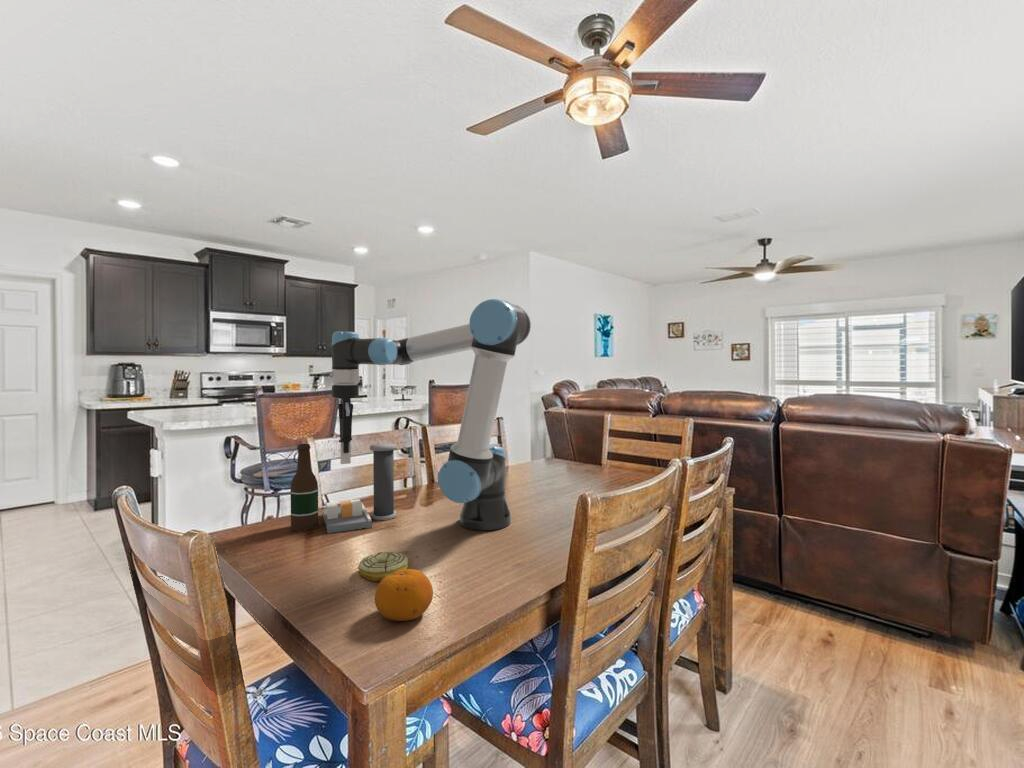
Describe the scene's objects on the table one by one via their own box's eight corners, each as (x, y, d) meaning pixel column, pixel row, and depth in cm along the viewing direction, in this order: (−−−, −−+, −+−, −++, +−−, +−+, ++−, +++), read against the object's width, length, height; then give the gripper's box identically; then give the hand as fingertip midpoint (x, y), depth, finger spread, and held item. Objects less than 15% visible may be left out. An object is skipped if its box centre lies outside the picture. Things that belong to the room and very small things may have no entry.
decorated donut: (380, 561, 116) (380, 545, 116) (417, 569, 111) (417, 553, 111) (348, 578, 106) (348, 561, 106) (387, 588, 102) (387, 570, 102)
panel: (371, 527, 139) (371, 518, 139) (327, 533, 134) (327, 524, 133) (362, 510, 155) (362, 502, 155) (322, 515, 150) (322, 506, 150)
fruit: (393, 597, 97) (393, 558, 97) (441, 605, 94) (441, 565, 94) (363, 624, 87) (362, 580, 87) (415, 634, 84) (415, 589, 84)
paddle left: (337, 518, 141) (337, 506, 141) (327, 519, 140) (327, 507, 140) (336, 513, 145) (336, 501, 145) (326, 514, 144) (326, 502, 144)
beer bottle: (285, 527, 138) (284, 444, 137) (311, 521, 144) (311, 441, 143) (296, 534, 133) (295, 447, 132) (324, 527, 139) (323, 444, 138)
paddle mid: (352, 516, 143) (352, 504, 142) (342, 517, 141) (342, 505, 141) (350, 511, 147) (350, 500, 147) (340, 512, 146) (340, 501, 146)
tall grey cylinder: (399, 518, 147) (399, 446, 146) (372, 522, 144) (372, 448, 143) (394, 511, 154) (393, 442, 153) (368, 514, 151) (368, 444, 150)
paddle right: (362, 515, 144) (362, 503, 144) (352, 516, 143) (352, 504, 142) (359, 510, 148) (359, 499, 148) (350, 511, 147) (350, 500, 147)
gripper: (330, 383, 147) (330, 460, 148) (333, 385, 135) (334, 468, 136) (355, 383, 150) (355, 458, 151) (361, 385, 138) (361, 466, 139)
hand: (345, 463), depth 144 cm, fingers closed
